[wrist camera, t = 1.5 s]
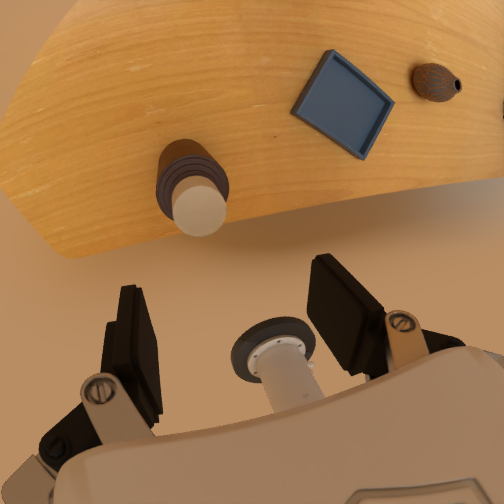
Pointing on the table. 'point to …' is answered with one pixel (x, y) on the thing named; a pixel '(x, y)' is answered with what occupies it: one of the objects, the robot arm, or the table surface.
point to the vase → (436, 82)
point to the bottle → (186, 171)
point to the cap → (198, 206)
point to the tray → (343, 104)
